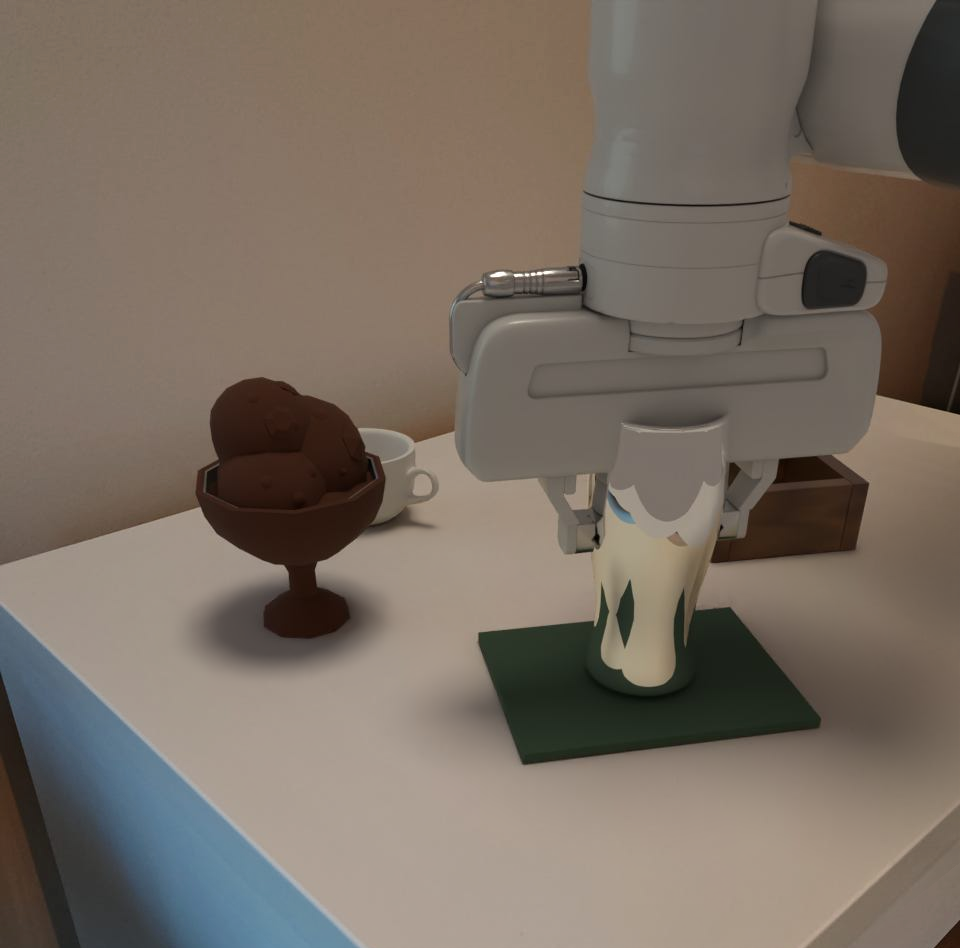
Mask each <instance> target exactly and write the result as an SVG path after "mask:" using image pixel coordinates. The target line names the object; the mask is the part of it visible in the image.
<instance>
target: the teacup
mask: <svg viewBox="0 0 960 948" xmlns="http://www.w3.org/2000/svg"><path fill="white" fill-rule="evenodd" d="M357 428H358V431H359V433H360V435H361V437H362V440H363V442H364V444H365V452H368V453H371V454H373V455H376V456H379V458H380V461H381V464H382V467H383V470H384V473H385V477H386V482H385V489H384V495H383V502H382V504H381V506H380V509H379V511H378V513H377V516H376V518H375V520H374V521H373V522H372V523H371V524H370V525H369V526H376V525H380V524H383V523H386V522H389V521H390V520H392V519H394V518H395V517H397V516H398V515H399V514H400V513H402V512H403V511H404V510H405V508H406V507H407V506H411V505H412V506H413V505H418V504H419V505H420V504H422V503H425V502H429V501H430V500H431V499H433V498H434V497H436V496H437V494H438V492H439V489H440V482H439V480H438V476H437V475H436V473H435V472H434V471H433V470H432V469H431V468H429V467H426V466H425V465H424V466H423V465H418V466H416V453H417V452H416V442H415V441H414V439H412V438H411V437H410V436H408V435H406V434H404V433H402V432H399V431H395V430H390V429H384V428H375V427H357ZM419 475H425V476H427V477H428V478H429V480H430V482H431V491H430V492H429V493H428V494H425V495H416V494H414V488H415V481H416V480H415V479H416V478H417V477H418V476H419Z"/></svg>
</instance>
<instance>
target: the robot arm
mask: <svg viewBox="0 0 960 948" xmlns="http://www.w3.org/2000/svg"><path fill="white" fill-rule="evenodd" d="M589 16H590V17H589V36H588V56H587V57H588V58H587V79H588V86H589V90H590V94H591V99H592V104H593V105H592V106H593V115H594V116H593V117H594V130H593V131H594V132H593V135H594V136H593V139H592V147H591V151H590V154H589V157H588V161H587V164H586V167H585V170H584V174H583V180H582V192H581V193H582V194H581V213H580V214H581V215H580V234H579V235H580V236H579V256H578V265H567V266H555V267H554V266H553V267H543V268H537V269H531V270H523V271H521V270H519V271H513V270H512V269H495V270H490V271H485V272H483V273H482V274H481V278H480V280H476V281H474V282H471V283H470V284H468V285H466V286H465V287H464V288H463V289H461V290H460V292H459V293H458V294H457V295H456V297H455V298H454V299H453V301H452V304H451V307H450V309H449V315H448V341H449V342H448V343H449V344H448V345H449V352H450V356H451V359H452V361H453V363H454V364H455V366H456V367H457V369H459V373H458V379H457V386H456V387H457V388H456V397H455V409H454V446H455V449H456V452H457V455H458V457H459V460H460V462H461V463H462V464H463V466H464V467H465V468H466V470H467V471H469V473H470V474H472V475H473V476H474V477H475V478H476V479H477V480H478V481H480V482H482V483H495V482H507V481H508V482H509V481H518V480H520V481H521V480H532V479H537V481H538V483H539V485H540V487H541V488H542V490H543V491H544V493H545V495H546V496H547V498H548V500H549V502H550V504H551V505H552V506H553V508H554V510H555V511H556V514H557V516H558V517H557V543H558V546H559V548H560V550H561V551H562V553H563V554H564V555H565V556H566V555H567V556H569V555H577V554H586V553H591V552H593V550H594V542H593V540H592V539H593V537H594V536H595V525H596V523H595V522H594V521H593V520H592V519H591V518H590V517H588V514H587V511H586V508H582V509H581V508H580V509H572V507H571V506H570V504H569V502H568V500H567V498H566V497H565V495H566V496H568V495H574V494H575V493H576V490H577V476H580V475H587V474H595V473H608V472H611V471H612V470H613V468H614V465H615V462H616V459H617V453H618V446H619V440H620V432H621V422H623V421H627V422H632V423H636V424H642V425H649V426H660V427H683V426H694V425H700V424H705V423H709V422H712V421H715V420H717V419H719V418H720V417H722V416H723V415H724V414H731V420H730V438H729V463H733V462H734V463H735V464H736V465H737V466H738V467H740V468H741V470H740V472H739V473H738V475H737V477H736V478H735V480H734V481H733V483H732V484H731V486H730V488H729V489H728V491H727V495H726V501H725V507H724V513H723V518H722V522H721V526H720V530H719V533H718V537H717V540H728V539H739V538H744V537H745V535H746V530H747V524H748V517H749V511H750V509H752V508H753V507H754V506H755V505H756V503H757V502H758V501H759V499H760V498H761V497H762V495H763V494H764V493H765V492H766V490H767V489H768V488H769V486H770V485H771V484H772V482H773V481H774V480H775V479H776V475H777V469H778V462H779V459H783V458H796V457H808V456H821V455H832V456H835V455H845V454H848V453H849V452H851V451H852V450H853V449H854V448H855V447H856V446H857V445H858V444H859V442H860V441H862V439H863V438H864V437H865V436H866V434H867V433H868V431H869V429H870V426H871V422H872V418H873V414H874V409H875V408H874V407H875V403H876V399H877V392H878V385H879V378H880V370H881V361H882V349H883V347H882V346H883V345H882V333H881V329H880V324H879V323H878V321H877V318H875V317H874V315H873V314H872V313H870V312H869V311H868V309H871V308H874V307H875V306H876V305H878V304H879V302H880V301H881V299H882V297H883V295H884V292H885V290H886V286H887V280H888V275H889V273H888V270H889V269H888V266H887V263H886V262H885V261H884V260H883V259H881V258H879V257H877V256H876V255H874V254H872V253H869V252H867V251H865V250H863V249H861V248H858V247H856V246H854V245H852V244H849V243H847V242H844V241H841V240H839V239H836V238H833V237H829V236H826V235H823V232H822V231H820V230H818V229H815V228H814V227H812V226H809V225H807V224H803V223H801V222H799V223H798V222H796V221H792V220H789V218H788V217H789V210H790V202H791V195H792V190H793V189H792V188H793V174H792V165H791V163H795V164H802V165H809V166H816V167H817V166H818V167H824V168H825V167H826V168H830V169H832V170H835V171H842V172H849V173H856V174H863V175H864V174H865V175H874V176H880V177H889V178H896V179H904V180H912V181H919V182H920V181H921V182H924V183H927V184H929V185H931V186H933V187H937V188H942V189H946V190H951V191H954V192H959V193H960V0H590V14H589ZM480 291H481V293H482V295H483V296H472V295H473V294H475V293H477V292H480Z"/></svg>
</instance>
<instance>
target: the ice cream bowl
mask: <svg viewBox="0 0 960 948" xmlns="http://www.w3.org/2000/svg"><path fill="white" fill-rule="evenodd" d="M209 414H210V415H209V416H210V417H209V429H210V437H211V442H212V445H213V448H214V449H213V450H214V452H215V455H216V457H217V458H218V459H216V460H214V461H213V462H211V463H208V464H207V465H205V466H204V467H201V468H199V469H198V470H197V472H196V473H197V475H196V483H195V484H196V485H195V493H194V495H195V496H196V499H197V502H198V504H199V507H200V509H201V512H202V515H203V517H204V518H205V520H206V521H207V522H208V524H209V525H210V526H211V528H212V530H213V531H214V532H215V533H216V535H217V536H219V537H220V538H222V539H224V540H225V541H227V543H230V544H231V545H232V546H234V547H236V548H237V549H239V550H240V551H242V552H245V553H247V554H249V555H251V556H253V557H254V558H256V559H258V560H261V561H263V562H266V563H269V564H272V565H275V566H283V567H284V568H285V569H286V572H287V574H288V585H289V589H288V590H286V591H283V592H281V593H279V594H278V595H277V596H275V597H274V598H272V599H271V600H270V601H269V602H268V603H266V604H265V605H264V608H263V615H262V617H263V627H264V628H265V629H266V630H269V631H271V632H272V633H274V634H276V635H277V636H279V637H282V638H298V639H311V638H316V637H319V636H322V635H327V634H330V633H332V632H336V631H338V630H339V629H340V628H341V627H342V626H343V625H344V624H345V623H346V622H347V621H348V620H350V619H351V615H350V610H349V604H348V602H347V600H346V597H344V596H342V595H340V594H339V593H337V592H334V591H332V590H330V589H329V588H328V589H327V588H324V587H320V586H318V581H317V575H316V569H317V566H318V563H319V562H323V561H328V560H329V559H330V558H332V557H333V556H335V555H337V554H338V553H340V552H341V551H343V550H344V549H345V548H347V546H349V545H350V544H352V543H353V542H354V541H355V540H357V539H358V538H359V537H360V536H361V535H362V533H364V531H366V529H367V528H368V527H370V526H371V525H370V524H371V523H372V522H373V521H374V520H375V518H376V516H377V513H378V511H379V509H380V506H381V504H382V502H383V495H384V489H385V482H386V477H385V473H384V470H383V467H382V464H381V461H380V458H379V456H376V455H373V454H371V453H368V452H365V444H364V442H363V440H362V437H361V435H360V433H359V431H358V428H359V427H357V426H356V425H355V424H354V422H353V420H352V419H351V417H350V416H349V414H348V413H346V412H345V411H344V410H342V408H340V407H339V406H338V405H336V404H335V403H332V402H330V401H327V400H324V399H320V398H318V397H314V396H312V395H309V394H308V395H307V394H306V395H305V394H301V393H299V391H297V390H296V388H295V387H294V386H292V385H291V384H289V383H287V382H285V381H283V380H273V379H270V378H267V377H263V376H260V377H251V378H245V379H242V380H240V381H238V382H236V383H234V384H232V385H230V386H228V387H226V388H225V389H224V390H223V392H221V394H220V395H218V397H217V399H216V400H215V402H214V404H213V406H212V407H211V409H210V413H209Z"/></svg>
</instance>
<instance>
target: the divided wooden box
mask: <svg viewBox="0 0 960 948" xmlns="http://www.w3.org/2000/svg"><path fill="white" fill-rule="evenodd" d="M740 470H741V468H740V467H738V466H737V465H736V464H735V463H734V462H733V463H730V465H729V476H728V487H727V491H728V489H729V488H730V486H731V484H732V483H733V481H734V480H735V478H736V477H737V475H738V473H739V472H740ZM869 487H870V482H869V481H867V479H865V478H863V477H862V476H861V475H859V473H857V472H855V470H853V469H852V468H850V467H848V465H846V464H845V463H843V462H842V461H840V460H839V459H838V458H837V457H835V455H821V456H808V457H796V458H783V459H779V462H778V469H777V475H776V479H775V480H774V481H773V482H772V484H771V485H770V486H769V488H768V489H767V490H766V492H765V493H764V494H763V495H762V497H761V498H760V499H759V501H758V502H757V503H756V505H755V506H754V507H753V508H752V509H750V511H749V517H748V524H747V530H746V535H745V537H744V538H739V539H728V540H717V541H716V544H715V547H714V550H713V554H712V557H711V560H710V562H711V563H721V562H729V561H730V562H732V561H740V560H741V561H742V560H752V559H764V558H774V557H784V556H785V557H786V556H796V555H805V554H816V553H825V552H826V553H827V552H837V551H850V550H851V551H852V550H856V547H857V543H858V539H859V534H860V530H861V524H862V521H863V516H864V510H865V507H866V501H867V497H868V492H869V489H870V488H869Z"/></svg>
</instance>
